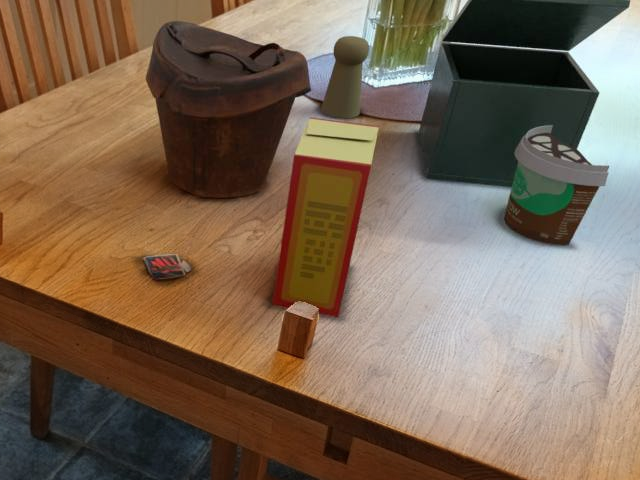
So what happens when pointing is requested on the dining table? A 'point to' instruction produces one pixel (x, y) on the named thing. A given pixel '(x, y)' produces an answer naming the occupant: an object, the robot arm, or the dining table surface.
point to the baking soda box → (323, 212)
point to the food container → (550, 188)
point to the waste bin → (498, 109)
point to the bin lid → (532, 22)
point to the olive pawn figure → (346, 78)
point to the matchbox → (166, 266)
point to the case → (221, 106)
